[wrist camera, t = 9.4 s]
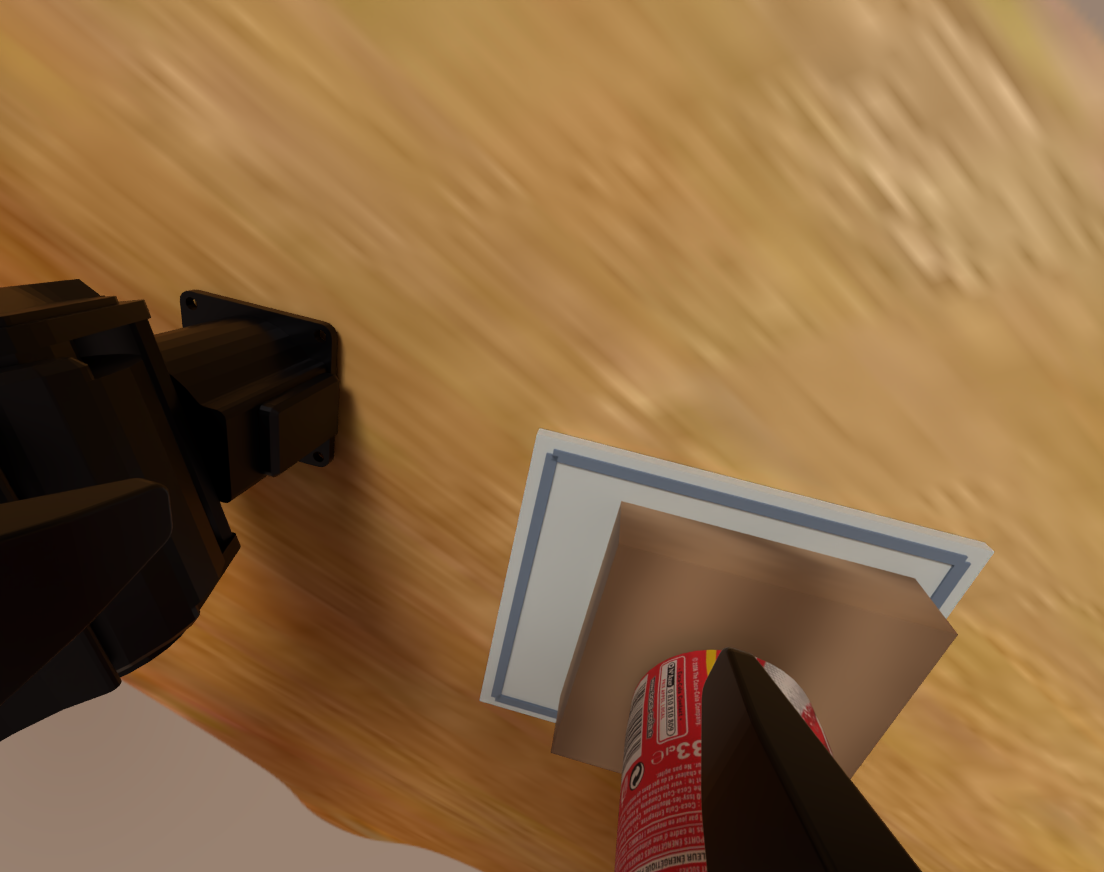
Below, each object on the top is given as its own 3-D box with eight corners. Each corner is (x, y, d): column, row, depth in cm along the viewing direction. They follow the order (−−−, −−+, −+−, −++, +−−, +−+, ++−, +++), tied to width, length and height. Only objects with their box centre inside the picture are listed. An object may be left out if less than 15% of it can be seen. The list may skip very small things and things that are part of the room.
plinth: (560, 696, 26) (550, 752, 23) (621, 500, 21) (619, 543, 18) (793, 763, 25) (812, 830, 22) (914, 578, 20) (958, 634, 17)
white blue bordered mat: (482, 691, 27) (478, 702, 27) (539, 427, 21) (536, 434, 20) (813, 787, 26) (817, 801, 26) (985, 542, 20) (996, 553, 19)
